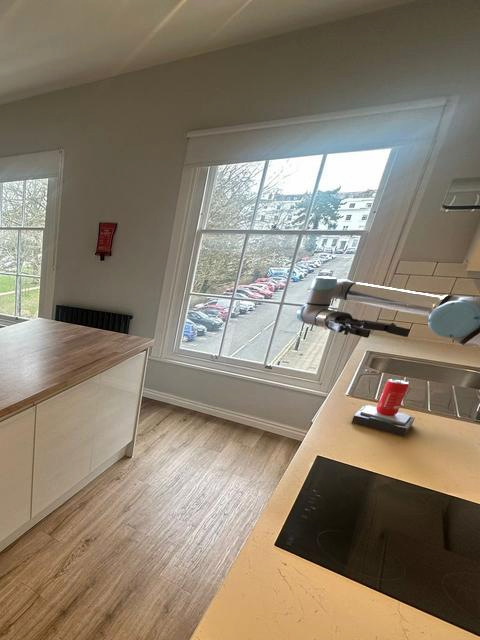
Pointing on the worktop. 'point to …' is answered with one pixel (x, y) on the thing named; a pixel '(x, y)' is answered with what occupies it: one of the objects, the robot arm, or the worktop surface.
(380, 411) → the beverage can
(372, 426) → the scale
